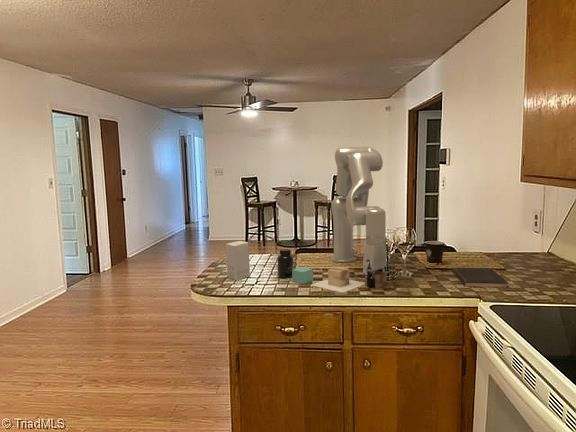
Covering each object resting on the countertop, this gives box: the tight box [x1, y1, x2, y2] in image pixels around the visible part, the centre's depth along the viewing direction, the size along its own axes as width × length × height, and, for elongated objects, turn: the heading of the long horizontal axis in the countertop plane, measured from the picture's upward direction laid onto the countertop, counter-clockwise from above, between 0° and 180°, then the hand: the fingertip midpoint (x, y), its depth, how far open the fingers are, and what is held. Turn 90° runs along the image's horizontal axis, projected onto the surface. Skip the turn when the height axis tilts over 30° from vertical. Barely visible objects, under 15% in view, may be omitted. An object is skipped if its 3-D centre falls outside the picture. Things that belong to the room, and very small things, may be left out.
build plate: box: [310, 278, 365, 294], centre depth 174 cm, size 16×16×1 cm
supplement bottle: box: [277, 248, 294, 279], centre depth 190 cm, size 7×7×12 cm
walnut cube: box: [364, 270, 387, 289], centre depth 171 cm, size 6×6×6 cm
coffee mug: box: [422, 240, 445, 264], centre depth 209 cm, size 12×9×10 cm
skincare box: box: [225, 240, 251, 281], centre depth 191 cm, size 8×7×16 cm
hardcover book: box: [451, 267, 510, 288], centre depth 180 cm, size 16×23×2 cm
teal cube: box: [291, 266, 314, 285], centre depth 180 cm, size 6×6×6 cm
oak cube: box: [327, 266, 350, 287], centre depth 174 cm, size 6×6×6 cm
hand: (375, 285), depth 171 cm, fingers closed on walnut cube, 6 cm apart
